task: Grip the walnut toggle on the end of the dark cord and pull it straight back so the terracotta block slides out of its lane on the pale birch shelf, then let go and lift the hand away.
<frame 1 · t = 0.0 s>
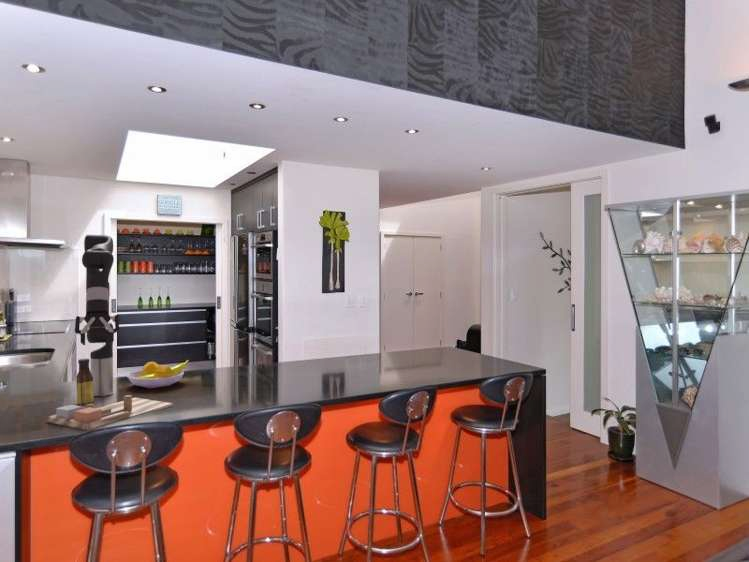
hand: (97, 344, 188), 31 cm above the countertop, tool tilted 20°, fingers open, 8 cm apart
sauce bottle: (85, 406, 222), on the countertop
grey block: (69, 420, 197), point 1 cm above the countertop, touching shelf
fruit bowl: (158, 385, 261), on the countertop
terracotta block: (107, 409, 200), point 4 cm above the countertop, slide at 0.0 cm
shelf: (114, 414, 209), on the countertop
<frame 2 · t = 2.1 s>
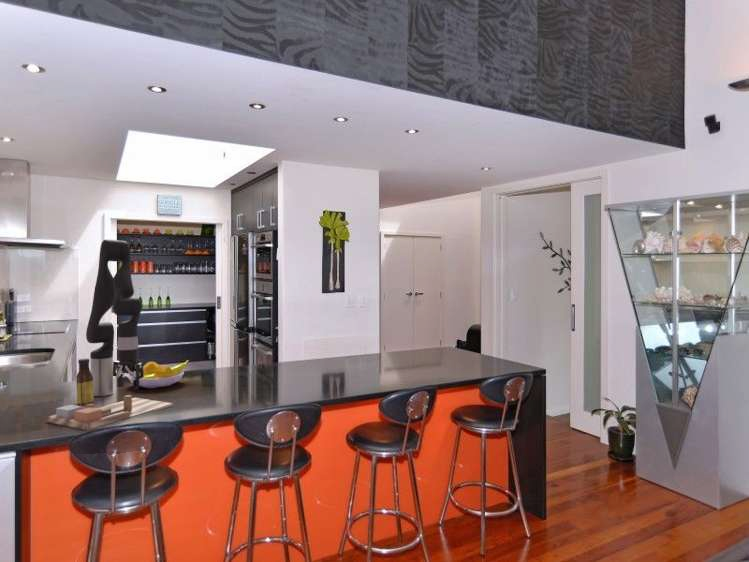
hand: (128, 388, 209), 11 cm above the countertop, tool pointing down, fingers open, 8 cm apart
nothing on the countertop moved.
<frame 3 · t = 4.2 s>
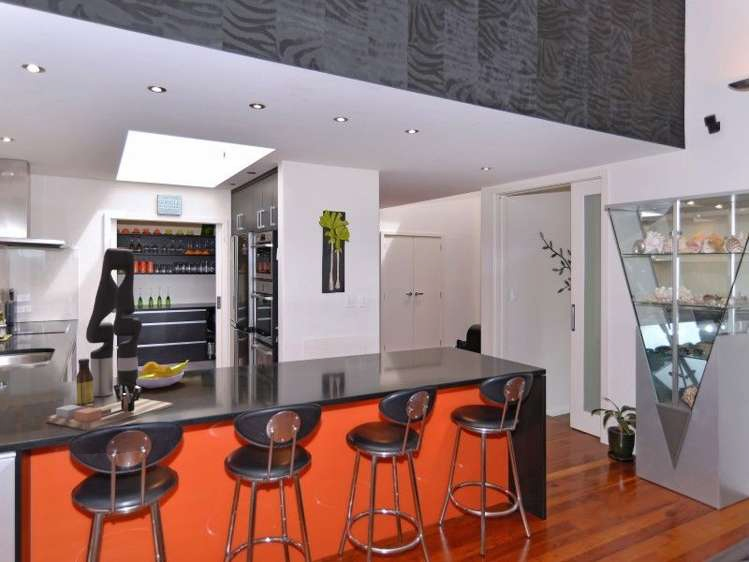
hand: (127, 410, 209), 2 cm above the countertop, tool pointing down, fingers closed on terracotta block, 3 cm apart
terracotta block: (107, 409, 200), point 4 cm above the countertop, slide at 0.0 cm, touching gripper
everything else where it was.
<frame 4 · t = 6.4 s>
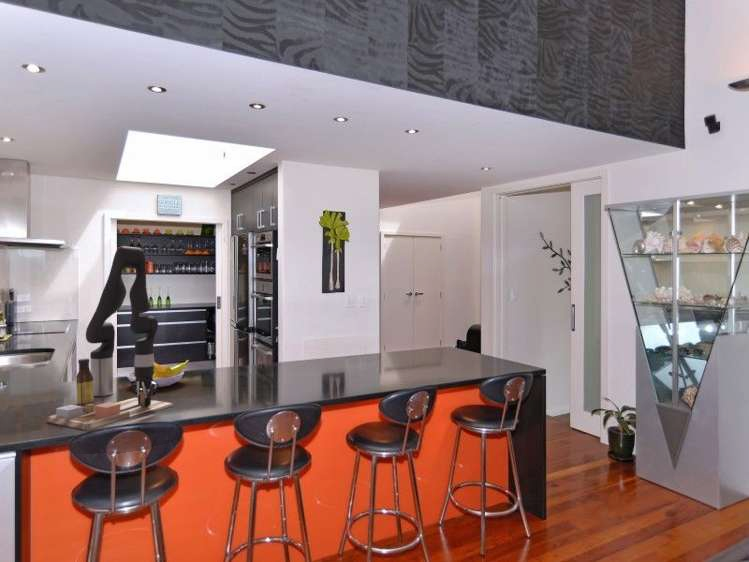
hand: (144, 405, 217), 2 cm above the countertop, tool pointing down, fingers closed on terracotta block, 3 cm apart
terracotta block: (125, 404, 208), point 4 cm above the countertop, slide at 8.3 cm, touching gripper
everything else where it was.
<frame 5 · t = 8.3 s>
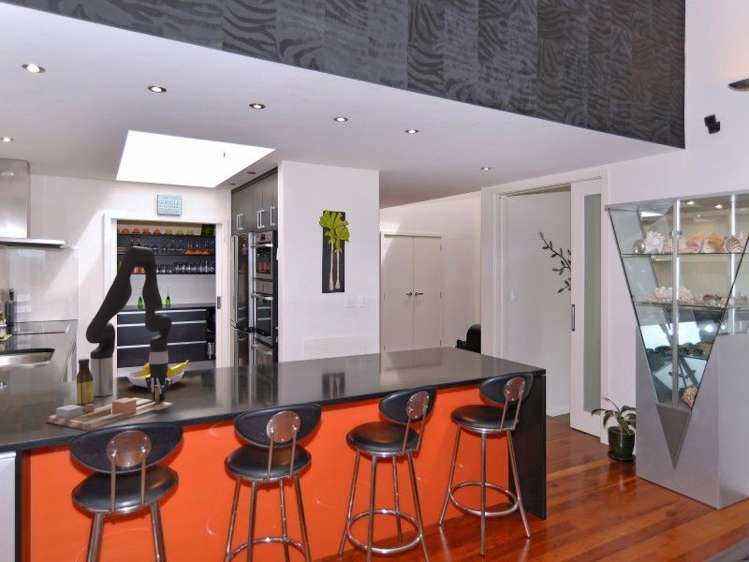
hand: (158, 401, 223), 2 cm above the countertop, tool pointing down, fingers closed on terracotta block, 3 cm apart
terracotta block: (140, 400, 215), point 4 cm above the countertop, slide at 15.9 cm, touching gripper
everything else where it was.
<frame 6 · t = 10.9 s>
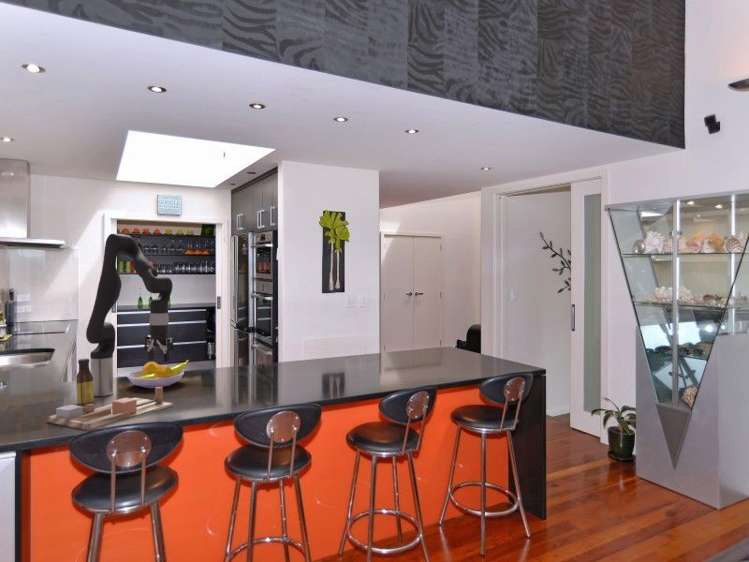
hand: (158, 361, 223), 19 cm above the countertop, tool pointing down, fingers open, 8 cm apart
terracotta block: (140, 400, 215), point 4 cm above the countertop, slide at 15.9 cm
everything else where it was.
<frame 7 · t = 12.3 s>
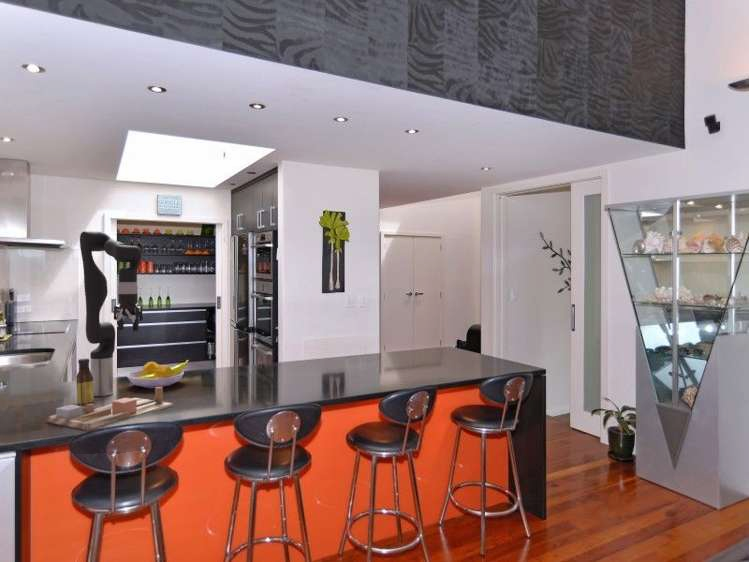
hand: (128, 330, 221), 32 cm above the countertop, tool pointing down, fingers open, 8 cm apart
nothing on the countertop moved.
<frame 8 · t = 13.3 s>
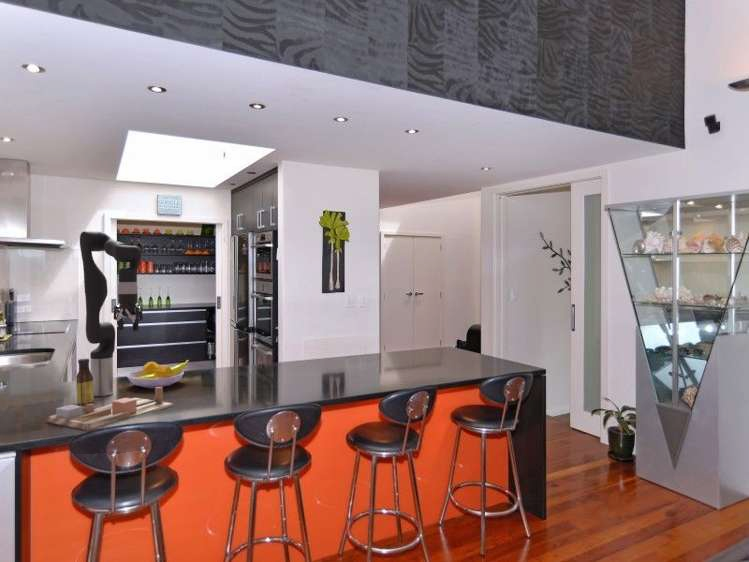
hand: (128, 330, 221), 32 cm above the countertop, tool pointing down, fingers open, 8 cm apart
nothing on the countertop moved.
at the end: terracotta block slide at 15.9 cm; the gripper is holding nothing; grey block moved 0.0 cm from its start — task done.
